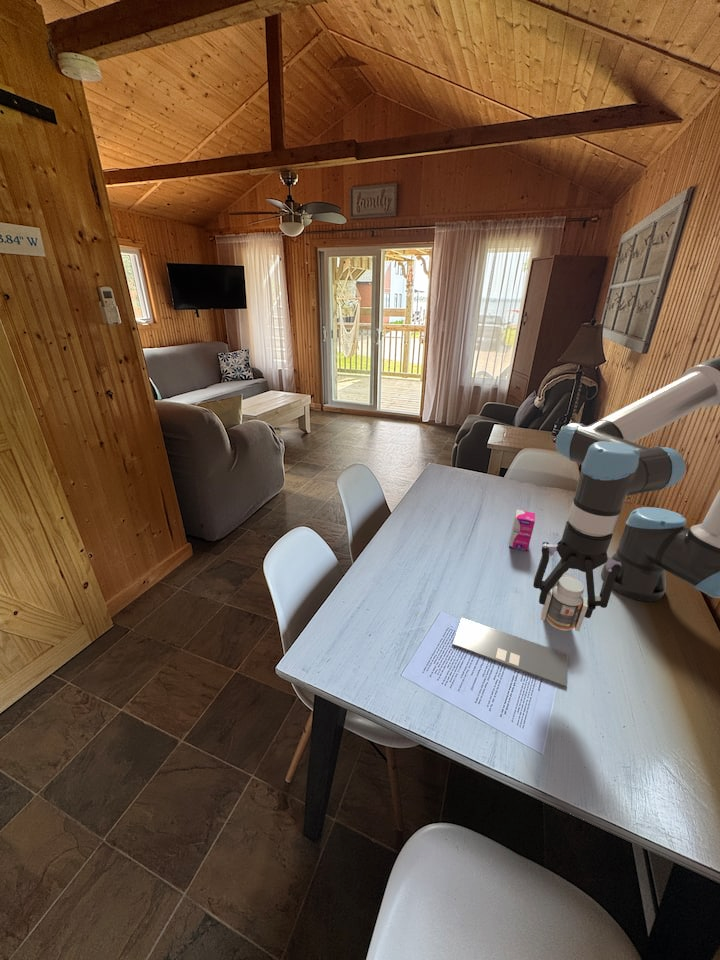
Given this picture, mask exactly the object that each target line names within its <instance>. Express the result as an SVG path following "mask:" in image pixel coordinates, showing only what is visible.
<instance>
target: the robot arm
mask: <svg viewBox="0 0 720 960" xmlns="http://www.w3.org/2000/svg"><path fill="white" fill-rule="evenodd" d="M719 404H720V355H718V356H715V357H712V358H710V359H707V360H704V361H703V362H700V363H698V364H696V365H694V366H692V367H689V368H687V369H686V370H685V371H684V372H683V374H681V376H680V378H678V379H676V380H674V381H672V382H670V383H669V384H667V385H664V386H662V387H661V388H658V389H657V390H655V391H653V392H650V393H648V394H647V395H645V396H643V397H642V398H639V399H638V400H635V401H634V402H632V403H630V404H628V405H626V406H623V407H622V408H620V409H618V410H616V411H613V412H612V413H610V414H608V415H606V416H604V417H602V418H600V419H598V420H597V421H594V422H593V423H591V424H589V425H585V424H584V423H577V422H570V423H568V424H566V425H564V427H563V428H561V430H559V432H558V434H557V436H556V439H555V448H556V451H557V453H559V454H560V455H561V456H562V457H565V458H566V459H568V460H570V461H571V462H575V463H577V464H579V465H581V467H580V468H581V469H580V473H579V477H578V481H577V486H576V490H575V493H574V496H573V499H572V503H571V506H570V508H569V513H568V516H567V521H566V522H565V525H564V528H563V529H564V531H563V532H562V537H561V540H559V541H558V542H557V543H554V544H550V543H549V542H548V541H543V542H542V546H541V556H540V560H539V563H538V565H537V569H536V572H535V575H534V577H533V584H532V585H533V587H534V588H535V589H539V591H540V594H539V596H538V597H539V599H538V602H539V604H540V605H542V607H541V614H540V620H542V621H546V614H547V611H548V607H549V604H550V600H551V597H552V588H553V586H554V585H555V584H556V583H557V581H558V580H559V579H560V578H561V576H562V575H563V574H564V573H567V571H569V570H570V569H572V570H578V571H580V572H582V573H585V581H586V582H585V583H586V590H587V591H586V594H587V595H586V596H587V597H584V596H583V604H582V607H581V610H580V613H579V616H578V619H577V622H576V625H575V627H574V631H577V632H580V631H581V627H582V625H583V622H584V619H585V618H586V619H590V618H591V616H592V614H593V611H594V610H596V607H600V608H602V609H603V608H604V609H606V608H607V607H608V604H609V601H610V597H611V595H612V590H613V591H615V592H617V593H618V594H620V595H623V596H624V597H627V598H630V599H632V600H638V601H641V602H656V601H659V600H660V599H662V598H663V597H664V595H665V592H666V589H667V582H666V581H667V580H666V579H667V576H666V573H667V572H668V573H670V574H672V575H673V576H674V577H677V578H678V579H680V580H681V581H683V582H685V583H687V584H688V585H690V586H691V587H692V588H694V589H695V590H698V591H700V592H702V593H703V594H706V595H708V597H711V598H713V599H714V598H715V599H720V489H718V492H717V494H716V496H715V497H714V499H713V502H712V503H711V505H710V507H709V509H708V511H707V513H706V514H705V517H704V519H703V521H702V523H698V524H695V525H692V526H690V527H689V528H688V527H686V526H687V519H686V517H684V516H683V515H682V514H680V513H678V512H676V511H672V510H669V509H665V508H661V507H651V506H650V507H649V506H648V507H647V506H644V507H643V506H642V507H637V508H635V509H633V510H632V511H631V512H630V514H629V516H628V517H627V520H626V521H625V526H624V528H623V532H622V534H621V538H620V539H619V540H620V541H619V543H618V546H617V549H616V551H615V553H614V554H613V555H612V556H611V557H609V556H608V553H607V552H608V549H609V547H610V543H611V542H612V538H613V533H614V532H615V529H616V527H617V525H618V524H617V523H618V521H619V518H620V516H621V511H622V509H623V507H624V503H625V501H626V498H627V497H629V496H633V495H637V494H642V493H648V492H653V491H657V492H658V491H662V490H663V489H666V488H669V487H672V486H674V485H676V484H678V483H679V482H680V481H681V480H682V479H683V477H684V476H685V474H686V468H687V467H686V462H685V459H684V458H683V456H682V454H681V453H680V452H678V451H677V450H676V449H673V448H671V447H666V446H664V447H662V446H653V447H646V446H644V445H641V444H638V443H635V442H638V441H640V440H641V439H644V438H645V437H647V436H649V435H651V434H653V433H655V432H656V431H659V430H661V429H662V428H664V427H666V426H668V425H670V424H672V423H674V422H676V421H678V420H680V419H682V418H684V417H686V416H687V415H689V414H692V413H693V412H695V411H697V410H699V409H701V408H711V407H714V406H717V405H719ZM556 552H557V553H558V555H559V556H560V559H559V562H558V563H557V564H556V566H555V567H554V569H552V571H551V572H550V573H549V574H548V576H547V577H546V578H545V580H544V576H545V573H546V570H547V568H548V565H549V561H550V557H552V556H554V554H555V553H556ZM602 565H603V567H602V569H601V572H600V573H601V574H600V575H601V578H602V580H603V582H602V585H601V589H600V592H599V596H598V595H597V596H596V592H595V581H594V570H595V569H598V568H600V567H601V566H602Z"/></svg>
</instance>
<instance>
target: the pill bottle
mask: <svg viewBox="0 0 720 960" xmlns="http://www.w3.org/2000/svg"><path fill="white" fill-rule="evenodd" d="M584 590H585V586H584V584H583V582H581V581H580V580H578V579H577V578H576V579H574V578H572V577H561V578H560V579H559V580H558V582H557V586H556V587H554V588H553V590H552V597H551V600H550V604H549V607H548V611H547V614H546V617H545V620H546V621H547V623H548V624H549V625H550V626H552V627H553V628H555V629H557V630H560V631H565V632H566V631H571V630H572V631H573V629H575V625H576V622H577V619H578V616H579V613H580V610H581V607H582V604H583V597H584V596H583V593H584V592H585V591H584Z"/></svg>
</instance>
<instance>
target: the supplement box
mask: <svg viewBox="0 0 720 960" xmlns="http://www.w3.org/2000/svg"><path fill="white" fill-rule="evenodd" d="M535 522H536V513H535V512H532V511H526V510H522V509H521V510H520V509H516V510H515V514H514V519H513V523H512V527H511V531H510V535H509V543H508V547H509V548H513V549H517V550H521V551H525V552H528V551H529V546H530V542H531V538H532V535H533V531H534V526H535V524H536V523H535Z"/></svg>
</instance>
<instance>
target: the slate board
mask: <svg viewBox="0 0 720 960" xmlns="http://www.w3.org/2000/svg"><path fill="white" fill-rule="evenodd" d="M451 646H452V647H455V648H458V649H461V650H463V651H466V652H468V653H471V654H474V655H476V656H479V657H482V658H484V659H487V660H490V661H493V662H495V663H498V664H501V665H504V666H506V667H508V668H512V669H513V670H517V671H519V672H522V673H525V674H527V675H530V676H532V677H535V678H538V679H541V680H543V681H545V682H547V683H548V682H549V683H551V684H554V685H557V686H559V687H561V688H565V689H567V686H568V653H566V652H563V651H560V650H557V649H553V648H551V647H548V646H545V645H542V644H539V643H537V642H533V641H530V640H527V639H525V638H521V637H518V636H516V635H513V634H510V633H507V632H504V631H502V630H498V629H495V628H493V627H490V626H486V625H484V624H481V623H478V622H476V621H472V620H469V619H466V618H464V617H461V619H460V623H459V626H458V628H457V631H456V634H455V636H454V639H453V642H452V644H451Z"/></svg>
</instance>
